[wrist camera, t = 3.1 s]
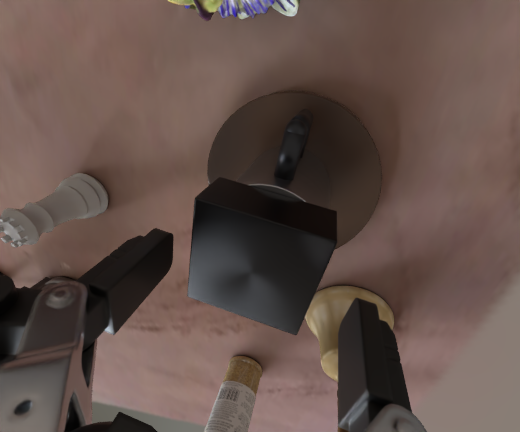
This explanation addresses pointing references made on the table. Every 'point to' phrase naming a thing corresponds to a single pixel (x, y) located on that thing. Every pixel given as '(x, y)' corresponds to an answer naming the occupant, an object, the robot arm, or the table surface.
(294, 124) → the black-lidded handled container
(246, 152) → the disc
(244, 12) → the passion flower
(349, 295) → the hand bell
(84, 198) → the rook chess piece
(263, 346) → the table surface
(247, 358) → the sprinkles bottle
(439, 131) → the table surface
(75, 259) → the table surface
